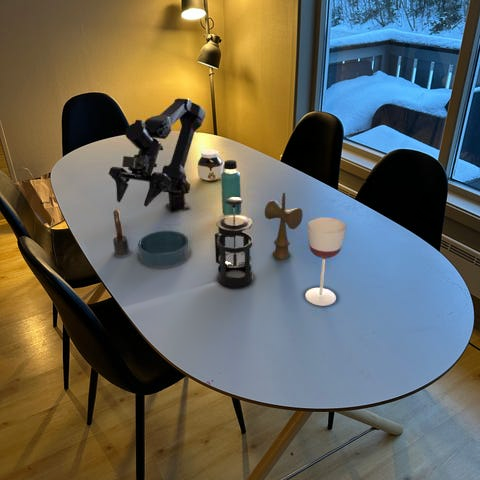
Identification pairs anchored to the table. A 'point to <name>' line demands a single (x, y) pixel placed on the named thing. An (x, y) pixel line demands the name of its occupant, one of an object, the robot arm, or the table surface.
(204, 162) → the spread jar
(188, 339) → the table surface
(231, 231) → the french press
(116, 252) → the peg on round base
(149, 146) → the robot arm
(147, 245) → the dish
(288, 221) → the kendama
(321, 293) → the wineglass
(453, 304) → the table surface
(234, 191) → the beverage bottle
